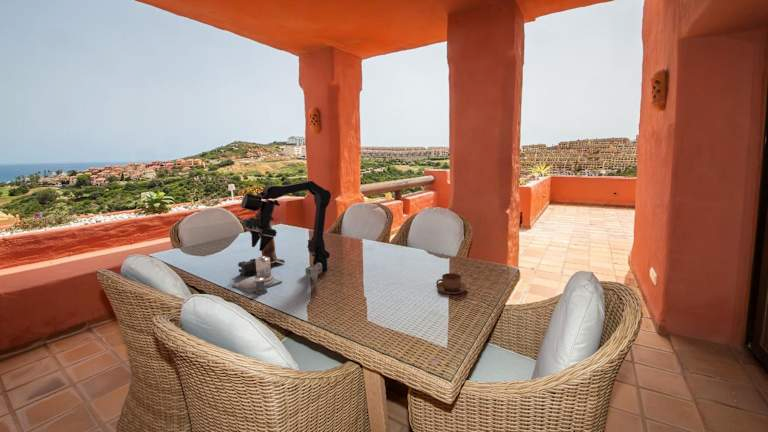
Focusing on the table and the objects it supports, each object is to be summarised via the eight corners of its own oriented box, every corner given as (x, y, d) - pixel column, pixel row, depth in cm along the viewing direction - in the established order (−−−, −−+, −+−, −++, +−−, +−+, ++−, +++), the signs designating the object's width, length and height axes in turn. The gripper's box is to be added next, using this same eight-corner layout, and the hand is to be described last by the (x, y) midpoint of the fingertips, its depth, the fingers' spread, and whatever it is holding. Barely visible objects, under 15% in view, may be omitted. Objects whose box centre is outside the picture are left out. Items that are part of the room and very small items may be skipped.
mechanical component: (324, 284, 149) (323, 262, 148) (311, 293, 140) (310, 269, 138) (318, 284, 150) (316, 261, 149) (305, 292, 141) (304, 269, 139)
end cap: (245, 278, 161) (244, 264, 160) (238, 275, 165) (236, 261, 164) (265, 272, 168) (263, 259, 167) (257, 270, 173) (256, 256, 172)
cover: (275, 276, 158) (274, 254, 156) (270, 282, 150) (268, 259, 148) (258, 276, 158) (256, 254, 156) (252, 282, 150) (250, 259, 148)
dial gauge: (267, 292, 142) (266, 279, 141) (257, 294, 140) (256, 281, 139) (264, 289, 145) (262, 276, 144) (254, 292, 143) (253, 278, 142)
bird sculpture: (268, 269, 173) (263, 206, 168) (253, 266, 179) (247, 205, 174) (285, 263, 182) (280, 203, 177) (270, 260, 188) (265, 202, 183)
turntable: (262, 276, 162) (262, 273, 162) (281, 282, 153) (281, 279, 153) (231, 286, 151) (231, 282, 151) (250, 293, 142) (250, 289, 141)
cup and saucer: (448, 299, 131) (448, 283, 130) (430, 289, 142) (430, 274, 141) (473, 292, 136) (473, 277, 135) (453, 283, 147) (453, 269, 146)
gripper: (240, 207, 152) (231, 242, 151) (255, 211, 138) (245, 250, 137) (264, 213, 159) (256, 246, 158) (281, 217, 145) (271, 253, 144)
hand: (256, 248), depth 149 cm, fingers open, 9 cm apart
